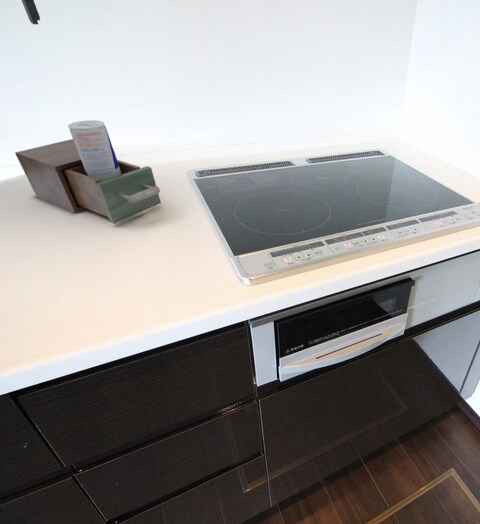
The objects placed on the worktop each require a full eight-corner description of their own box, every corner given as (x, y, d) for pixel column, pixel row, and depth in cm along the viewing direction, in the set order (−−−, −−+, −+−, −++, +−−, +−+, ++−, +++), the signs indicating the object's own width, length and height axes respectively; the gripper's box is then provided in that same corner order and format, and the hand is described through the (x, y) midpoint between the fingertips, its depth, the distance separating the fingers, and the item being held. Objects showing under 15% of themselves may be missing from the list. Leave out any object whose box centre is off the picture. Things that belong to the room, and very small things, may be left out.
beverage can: (135, 198, 75) (110, 122, 66) (108, 208, 71) (78, 129, 62) (118, 191, 77) (92, 117, 68) (91, 200, 73) (60, 123, 64)
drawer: (175, 208, 74) (166, 171, 70) (128, 229, 67) (114, 190, 62) (122, 189, 80) (110, 154, 76) (74, 207, 73) (57, 169, 68)
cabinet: (128, 192, 81) (114, 150, 75) (75, 213, 72) (54, 166, 67) (90, 179, 86) (74, 138, 80) (36, 196, 77) (14, 152, 72)
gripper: (1, -102, 58) (45, 17, 69) (-129, -119, 49) (-55, 20, 61) (16, -96, 55) (60, 28, 66) (-120, -113, 46) (-43, 33, 57)
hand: (5, 24), depth 63 cm, fingers open, 8 cm apart
